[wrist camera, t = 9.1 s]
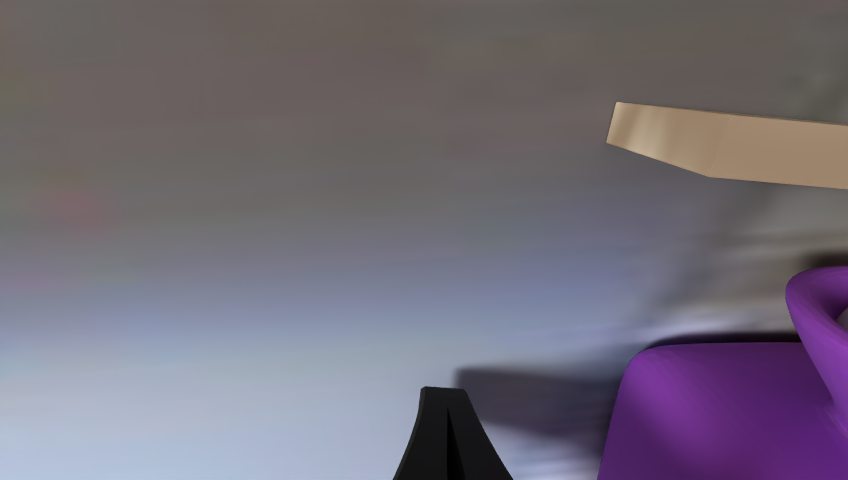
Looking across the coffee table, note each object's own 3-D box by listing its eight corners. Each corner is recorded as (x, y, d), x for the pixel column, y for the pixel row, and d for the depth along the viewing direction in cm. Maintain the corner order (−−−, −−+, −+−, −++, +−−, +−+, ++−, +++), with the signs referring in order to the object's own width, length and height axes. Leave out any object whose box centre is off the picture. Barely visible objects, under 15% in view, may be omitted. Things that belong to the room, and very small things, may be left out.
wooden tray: (790, 585, 18) (889, 720, 14) (498, 570, 17) (519, 707, 13) (1097, 147, 11) (1464, 184, 7) (616, 102, 10) (731, 114, 6)
